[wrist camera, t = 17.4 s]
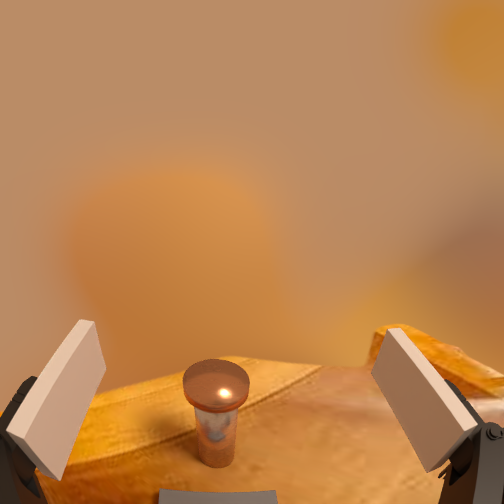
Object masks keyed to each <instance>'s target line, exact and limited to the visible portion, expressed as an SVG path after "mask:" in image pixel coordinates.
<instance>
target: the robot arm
mask: <svg viewBox="0 0 504 504" xmlns="http://www.w3.org/2000/svg"><path fill="white" fill-rule="evenodd" d="M105 371H106V366H105V362H104V359H103V355H102V351H101V348H100V343H99V340H98V335H97V331H96V327H95V322H93V321H87V320H79V321H78V323H77V324H76V325H75V327H74V328H73V329H72V331H71V332H70V333H69V335H68V336H67V337H66V338H65V340H64V341H63V343H62V344H61V345H60V347H59V348H58V350H57V351H56V352H55V354H54V355H53V357H52V358H51V359H50V361H49V362H48V364H47V365H46V367H45V368H44V370H43V371H42V373H41V374H40V375H39V377H38V378H37V377H34V376H31V377H30V378H28V379H27V380H26V381H24V382H23V383H22V385H21V386H20V387H19V389H18V390H17V394H15V395H14V397H13V398H12V401H10V403H9V404H8V406H7V407H6V409H5V411H4V412H3V414H2V416H1V417H0V504H48V503H47V500H46V498H45V496H44V493H43V491H42V488H41V486H40V483H39V481H38V478H37V476H36V474H35V473H34V471H35V468H36V467H37V468H38V469H39V470H40V471H41V472H42V473H43V474H44V475H46V476H48V477H51V478H53V479H56V480H58V481H61V478H62V475H63V472H64V469H65V466H66V463H67V461H68V458H69V455H70V453H71V450H72V447H73V445H74V442H75V440H76V437H77V435H78V432H79V430H80V427H81V425H82V422H83V420H84V418H85V415H86V413H87V410H88V408H89V406H90V404H91V401H92V399H93V397H94V395H95V392H96V390H97V388H98V386H99V383H100V381H101V379H102V377H103V375H104V373H105ZM371 374H372V376H373V377H374V379H375V381H376V382H377V384H378V386H379V388H380V389H381V391H382V393H383V395H384V396H385V398H386V400H387V401H388V403H389V405H390V407H391V408H392V410H393V412H394V414H395V416H396V417H397V419H398V421H399V423H400V424H401V426H402V428H403V430H404V432H405V433H406V435H407V437H408V439H409V441H410V443H411V444H412V446H413V448H414V450H415V452H416V454H417V456H418V457H419V459H420V461H421V463H422V465H423V467H424V469H425V471H426V473H428V472H430V471H433V470H435V469H437V468H439V467H441V466H442V465H443V464H444V463H445V462H446V461H447V460H448V459H449V460H450V462H451V463H450V464H449V465H448V466H447V467H446V468H445V469H444V470H443V471H442V472H441V473H440V474H439V476H438V478H441V477H442V476H443V475H444V474H445V473H446V475H445V476H444V478H443V479H445V480H444V484H443V488H442V492H441V496H440V499H439V503H438V504H504V428H501V427H500V426H499V425H498V424H496V423H493V422H488V423H486V424H485V422H484V421H483V420H482V419H481V417H480V416H479V415H478V414H477V412H476V411H475V410H474V408H473V407H472V406H471V404H470V403H469V402H468V401H466V398H465V397H464V396H463V395H461V392H460V391H459V389H458V388H457V387H456V386H455V385H454V384H453V383H451V382H450V381H448V380H447V379H445V380H443V378H442V377H441V376H440V375H439V373H438V372H437V371H436V370H435V369H434V367H433V366H432V365H431V364H430V363H429V361H428V360H427V359H426V358H425V357H424V355H423V354H422V353H421V352H420V351H419V349H418V348H417V347H416V346H415V345H414V344H413V342H412V341H411V340H410V339H409V338H408V337H407V335H406V334H405V333H404V332H403V331H402V330H401V329H400V328H394V329H387V331H386V334H385V337H384V340H383V343H382V346H381V348H380V351H379V354H378V356H377V359H376V362H375V364H374V367H373V369H372V372H371Z"/></svg>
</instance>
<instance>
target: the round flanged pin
mask: <svg viewBox="0 0 504 504" xmlns="http://www.w3.org/2000/svg"><path fill="white" fill-rule="evenodd" d="M249 384H250V381H249V377H248V375H247V373H246V372H245V371H244V369H242V368H241V367H240V366H238V365H237V364H235V363H232V362H229V361H226V360H219V359H210V360H204V361H200V362H197V363H195V364H193V365H192V366H190V367H189V368H188V369H187V370H186V372H185V373H184V376H183V388H184V395H185V397H186V399H187V400H188V402H189V403H190V404H191V405H193V406H194V409H195V419H196V429H197V439H198V447H199V456H200V459H201V461H202V462H203V463H204V464H205V465H207V466H209V467H212V468H223V467H226V466H228V465H229V464H231V463H232V461H233V459H234V453H235V440H236V427H237V414H238V408H239V407H240V406H241V405H243V404H244V402H245V401H246V399H247V397H248V393H249Z"/></svg>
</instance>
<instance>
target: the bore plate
mask: <svg viewBox="0 0 504 504" xmlns="http://www.w3.org/2000/svg"><path fill="white" fill-rule="evenodd" d="M159 504H278V502H277V496H276V491H275V490H271V491H258V492H234V493H214V492H191V491H178V490H168V489H160V492H159Z"/></svg>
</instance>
